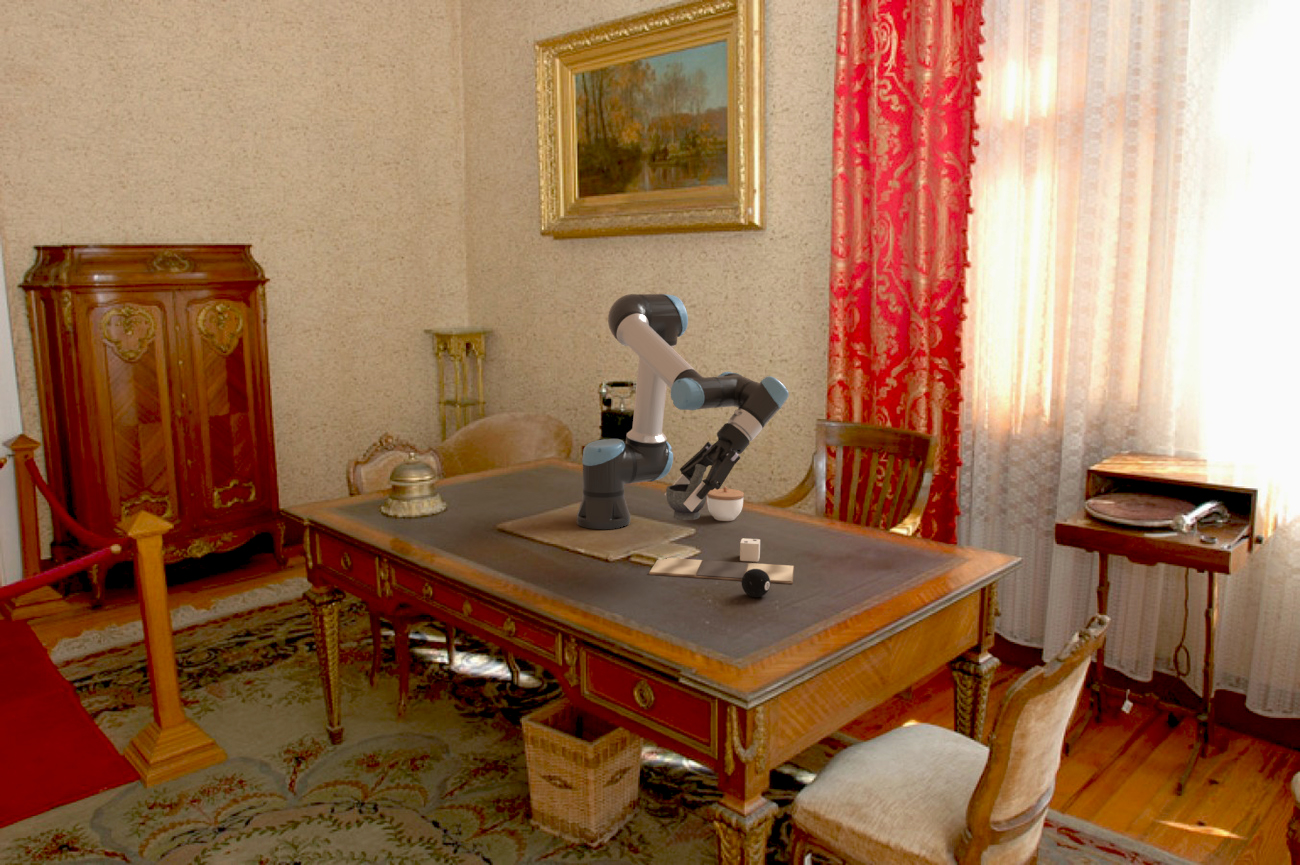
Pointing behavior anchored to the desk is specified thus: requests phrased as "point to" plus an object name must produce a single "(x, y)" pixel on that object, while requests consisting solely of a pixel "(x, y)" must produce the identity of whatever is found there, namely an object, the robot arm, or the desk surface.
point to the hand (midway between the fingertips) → (677, 502)
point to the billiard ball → (755, 583)
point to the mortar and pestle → (686, 496)
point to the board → (719, 569)
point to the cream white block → (750, 550)
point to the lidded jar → (725, 503)
